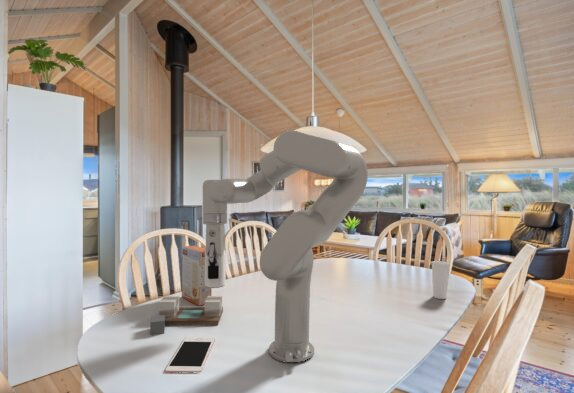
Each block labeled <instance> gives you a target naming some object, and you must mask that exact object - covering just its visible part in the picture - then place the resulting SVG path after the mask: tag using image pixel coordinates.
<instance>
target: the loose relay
mask: <svg viewBox="0 0 574 393" xmlns="http://www.w3.org/2000/svg"><path fill="white" fill-rule="evenodd" d="M149 322H150V323H149V324H150V325H149V326H150V327H149V328H150V333H149V335H150V336H151V335H152V336H153V335H161V334H165V330H166V329H165V328H166V325H165V315H151V318H150V321H149Z"/></svg>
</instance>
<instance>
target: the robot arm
mask: <svg viewBox="0 0 574 393" xmlns="http://www.w3.org/2000/svg"><path fill="white" fill-rule="evenodd" d="M259 167H260V170H259V171H258V172H256V173H254V174H253V175H251V176H249V177H247V178H223V179H207V180H204V181H203V183H202V225H205V248H206V255H207V256H208V255H209V256H208V257H209V258H208V279H218V278H219V265H218V255H220V256H222V255H223V253H224V250H225V252H226V227H225V226H226V224H228V205H232V204H235V205H236V204H246V203H251V202H254V201H256V200H258V199H260V198H261V197H263V196H265V195H266V194H269V193H270V192H271V191H272V190H273V189H274V188H275V187H276V186H277V185H278V183H280V182H281V181H284V180H286V178H289V177H291V176H292V175H293V174H296V173H297V172H300V171H301V170H303V171H306V172H310V173H313V174H316V175H319V176H323V177H327V178H333V180H332V181H331V182H330V184H329V185H327V187H325V189H324V190H323V191H322V192H321V193H320V195H319V196H318V198H317V199H316V200H315V201H314V203H313V204H312V205H311V206H309V208H308V209H303V210H298V211H297V210H296V211H295V212H293V213H292V214H290V215H289V216H288V217H286V218H285V219H284V220H283V222H282V223H281V224H280V225H279V227H278V228H277V230H276V231H275V232H274V234H273V235H272V237H271V238H270V239H269V241H268V242H267V244H266V245H265V246H264V247H263V249H262V250H261V254H260V257H259V267H260V271H261V272H262V274H263V275H264V276H265V277H266V278H267V279H268V280H271V281H275V282H276V283H275V299H274V300H275V301H274V302H275V303H274V304H275V305H274V310H275V311H274V341H272V342H271V343H270V344H269V346H268V354H269V355H270V356H271V357H272V358H273V359H275V360H276V359H277V361H279V360H280V361H279V362H282V361H285V362H284V363H287V362H298V363H301V362H300V361H303V362H306V361H308V360H310V359H311V358H312V357H314V355H315V347H314V345H313V344H312V343H311V342H310V302H311V301H310V299H311V282H312V281H311V280H312V273H313V267H314V259H315V258H314V257H315V256H314V251H313V248H315V247H317V246H319V245H322V244H324V243H326V242H327V241H328V240H329V239H330V237H331V236H332V235H333V233H334V232H335V231H336V229H337V228H338V227H339V225H340V224H341V223H342V222H343V221H344V219H345V218H346V216H347V215H348V214H349V213H350V211H351V210H352V208H354V207H355V205H356V203H357V202H358V201H359V199H361V197H362V195H363V194H364V192H365V189H366V187H367V183H368V177H369V176H368V173H369V172H368V166H367V163H366V161H365V159H364V156H363V155H362V153H360V152H359V150H357V149H356V148H354V147H353V146H351V145H349V144H345V143H342V142H339V141H335V140H331V139H328V138H325V137H324V138H323V137H320V136H315V135H311V134H307V133H304V132H301V131H297V130H293V129H290V130H286V131H284V132H282V133H280V134H279V135H278V136H277V137H276V138H275V140H274V143H273V150H272V151H270V152H268V153H266V154H264V155H262V157H261V158H260V160H259ZM208 252H209V254H208ZM214 253H216V254H217V255H214ZM215 258H216V259H215ZM309 358H310V359H309ZM307 359H308V360H307ZM305 360H306V361H305Z"/></svg>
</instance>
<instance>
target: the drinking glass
mask: <svg viewBox="0 0 574 393" xmlns="http://www.w3.org/2000/svg"><path fill="white" fill-rule="evenodd" d="M449 278H450V262H448V261H443V260H434V261H433V260H432V264H431V280H432V297H433V298H435V299H439V300H446V299H447V298H448V297H447V296H448V295H447V294H448V288H449V287H448V286H449Z"/></svg>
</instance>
